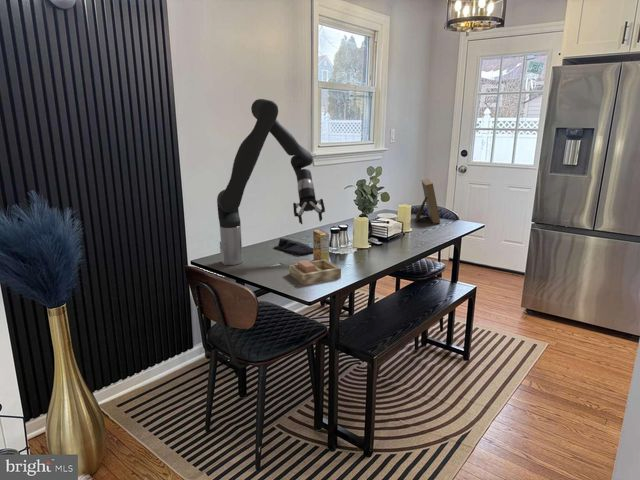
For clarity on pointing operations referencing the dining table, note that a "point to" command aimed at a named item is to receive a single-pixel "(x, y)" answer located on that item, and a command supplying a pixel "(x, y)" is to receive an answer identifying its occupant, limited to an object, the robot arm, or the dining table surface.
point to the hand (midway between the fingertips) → (311, 222)
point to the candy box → (320, 245)
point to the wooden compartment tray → (316, 272)
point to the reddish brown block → (306, 266)
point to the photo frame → (429, 202)
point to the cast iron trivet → (293, 247)
